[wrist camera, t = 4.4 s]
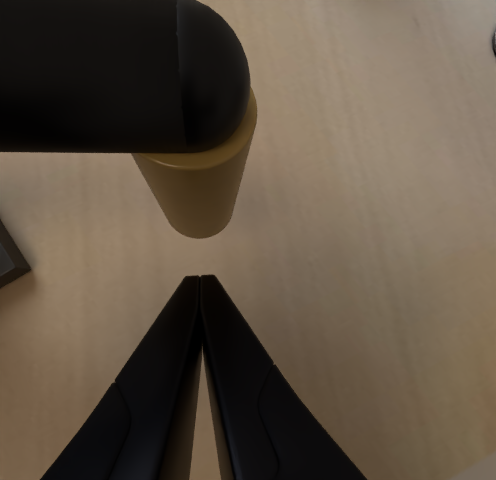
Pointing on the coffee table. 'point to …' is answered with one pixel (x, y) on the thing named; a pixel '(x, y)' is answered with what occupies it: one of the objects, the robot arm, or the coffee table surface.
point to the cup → (494, 41)
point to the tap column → (10, 259)
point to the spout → (133, 95)
